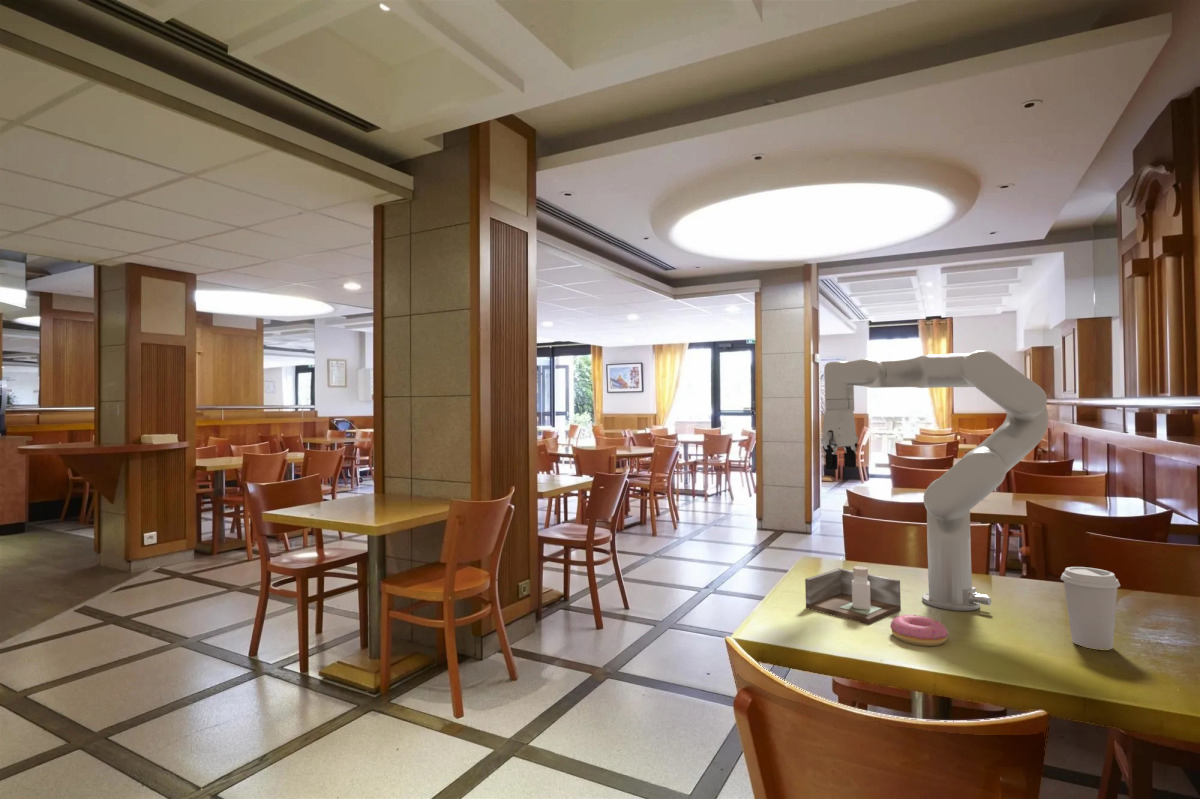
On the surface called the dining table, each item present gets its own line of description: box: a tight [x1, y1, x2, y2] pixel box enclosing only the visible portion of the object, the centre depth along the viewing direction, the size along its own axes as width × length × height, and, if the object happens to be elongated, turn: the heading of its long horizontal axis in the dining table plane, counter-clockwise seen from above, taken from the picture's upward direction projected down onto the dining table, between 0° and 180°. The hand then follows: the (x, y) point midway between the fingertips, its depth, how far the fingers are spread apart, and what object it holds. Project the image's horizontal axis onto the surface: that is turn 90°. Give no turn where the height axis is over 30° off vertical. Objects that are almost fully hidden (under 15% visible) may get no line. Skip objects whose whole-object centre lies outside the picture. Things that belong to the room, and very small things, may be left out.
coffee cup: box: [1060, 566, 1121, 650], centre depth 125 cm, size 10×10×15 cm
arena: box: [804, 568, 902, 625], centre depth 150 cm, size 16×16×7 cm
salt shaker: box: [852, 565, 871, 610], centre depth 147 cm, size 4×4×10 cm
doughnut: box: [889, 614, 949, 647], centre depth 130 cm, size 11×11×4 cm
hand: (841, 468), depth 167 cm, fingers open, 9 cm apart
